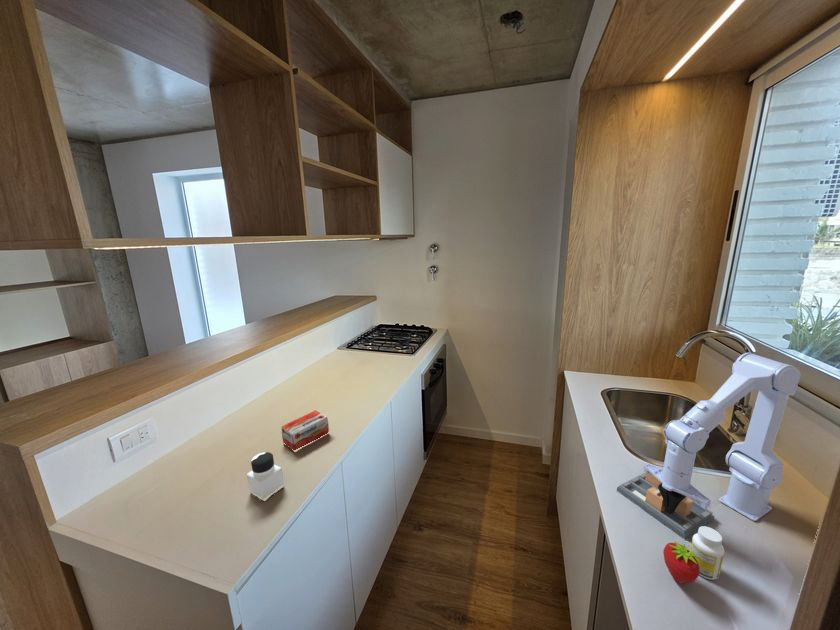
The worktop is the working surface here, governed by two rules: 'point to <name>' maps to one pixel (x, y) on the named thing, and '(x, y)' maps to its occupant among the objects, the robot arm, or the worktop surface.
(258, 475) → the medicine bottle
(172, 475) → the worktop surface
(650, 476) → the cardboard box
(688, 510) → the tan box with strip
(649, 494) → the orange box
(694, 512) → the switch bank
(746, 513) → the robot arm
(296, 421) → the medicine box
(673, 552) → the strawberry
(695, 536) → the supplement bottle
